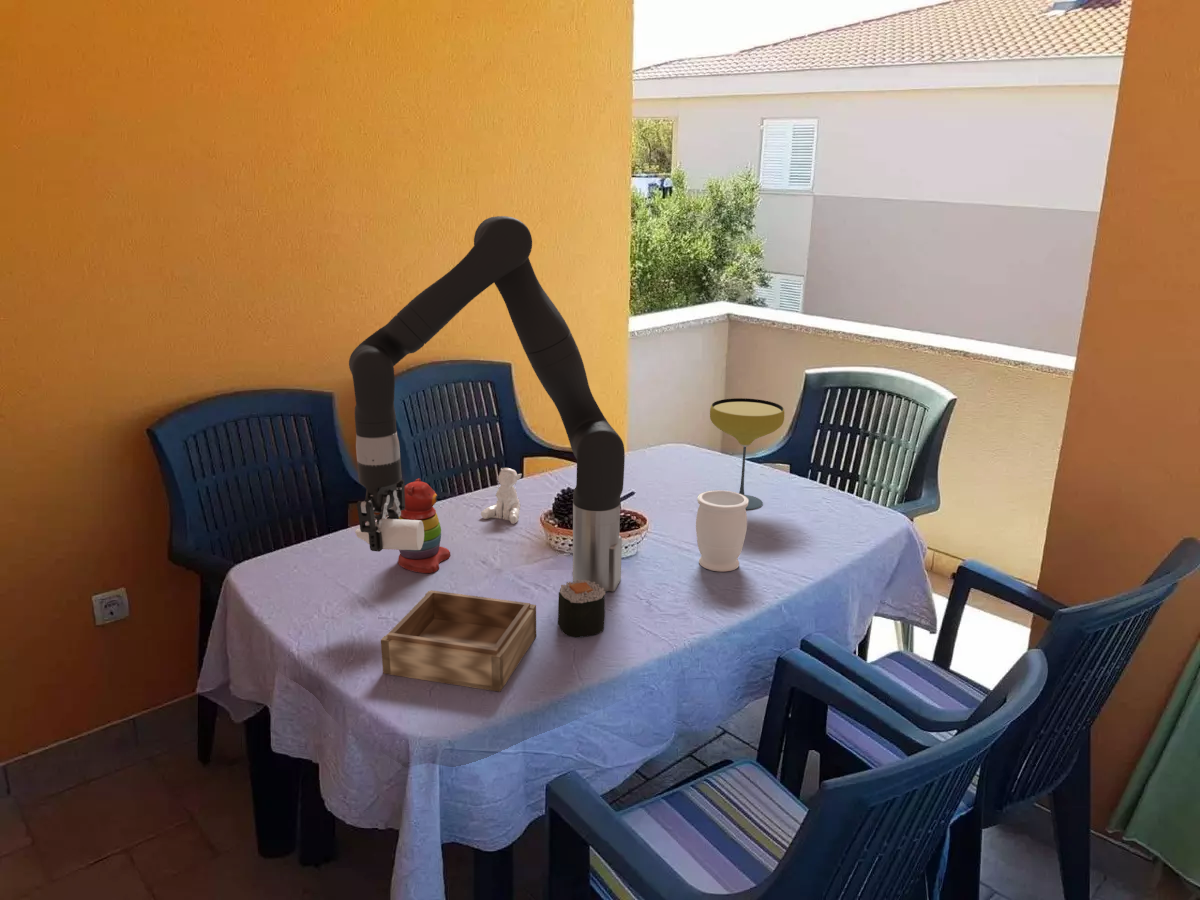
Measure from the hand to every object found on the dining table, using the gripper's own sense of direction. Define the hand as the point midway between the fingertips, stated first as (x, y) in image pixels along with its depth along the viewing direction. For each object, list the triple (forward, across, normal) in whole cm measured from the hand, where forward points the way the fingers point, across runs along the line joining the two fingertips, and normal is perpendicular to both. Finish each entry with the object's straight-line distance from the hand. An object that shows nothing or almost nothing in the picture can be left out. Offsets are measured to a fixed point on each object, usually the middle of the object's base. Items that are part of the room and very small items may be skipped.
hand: (385, 542), depth 163 cm
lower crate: (+14, -12, -20) cm, 27 cm away
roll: (+1, 0, -1) cm, 1 cm away
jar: (+15, +37, -58) cm, 70 cm away
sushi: (+14, +3, -36) cm, 39 cm away
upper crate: (+14, -12, -20) cm, 27 cm away
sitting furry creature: (+14, +51, -5) cm, 53 cm away
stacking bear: (+14, +21, +3) cm, 25 cm away
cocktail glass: (+15, +76, -59) cm, 97 cm away
